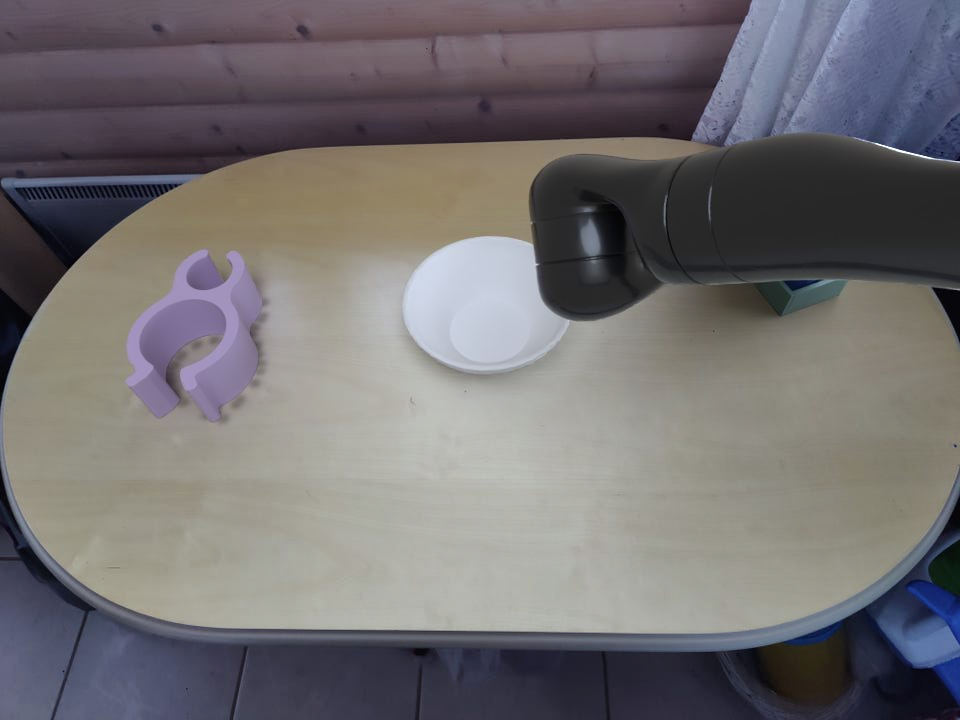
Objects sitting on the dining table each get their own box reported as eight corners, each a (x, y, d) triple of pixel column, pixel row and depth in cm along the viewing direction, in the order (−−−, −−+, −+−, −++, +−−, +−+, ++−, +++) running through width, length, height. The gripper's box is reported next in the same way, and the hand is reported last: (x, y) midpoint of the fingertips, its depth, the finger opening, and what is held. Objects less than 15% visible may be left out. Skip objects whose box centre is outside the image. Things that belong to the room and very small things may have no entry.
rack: (780, 316, 82) (791, 296, 79) (708, 228, 91) (714, 206, 87) (839, 295, 83) (852, 274, 80) (762, 210, 92) (770, 188, 89)
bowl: (529, 428, 75) (529, 396, 69) (379, 365, 81) (369, 331, 75) (595, 303, 84) (600, 265, 79) (457, 255, 90) (453, 217, 85)
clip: (193, 284, 90) (171, 247, 84) (284, 289, 88) (268, 252, 83) (134, 416, 79) (103, 384, 73) (237, 424, 77) (214, 392, 72)
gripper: (848, 209, 46) (957, 197, 55) (692, 144, 55) (806, 143, 64) (803, 306, 50) (911, 281, 59) (664, 230, 59) (775, 218, 68)
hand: (856, 209), depth 61 cm, fingers open, 8 cm apart
